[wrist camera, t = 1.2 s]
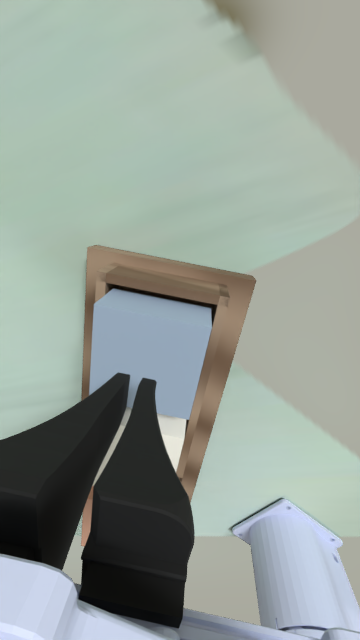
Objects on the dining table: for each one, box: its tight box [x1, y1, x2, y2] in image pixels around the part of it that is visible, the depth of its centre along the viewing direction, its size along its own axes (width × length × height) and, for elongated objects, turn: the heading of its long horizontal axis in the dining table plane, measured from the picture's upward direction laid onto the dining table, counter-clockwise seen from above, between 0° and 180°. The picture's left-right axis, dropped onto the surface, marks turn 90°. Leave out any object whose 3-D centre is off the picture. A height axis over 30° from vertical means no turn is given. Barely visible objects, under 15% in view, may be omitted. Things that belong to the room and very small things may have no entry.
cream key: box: [92, 407, 186, 486], centre depth 20 cm, size 6×6×3 cm
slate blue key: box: [89, 288, 212, 420], centre depth 17 cm, size 6×6×3 cm
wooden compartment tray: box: [82, 245, 256, 502], centre depth 23 cm, size 26×12×4 cm, turn 170°
